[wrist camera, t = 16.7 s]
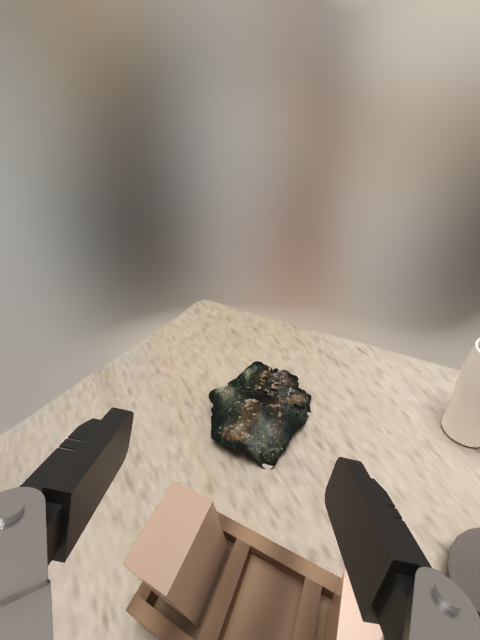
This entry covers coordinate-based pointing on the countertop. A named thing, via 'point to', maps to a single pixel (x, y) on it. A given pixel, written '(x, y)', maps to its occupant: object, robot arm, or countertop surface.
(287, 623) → the wooden divided tray
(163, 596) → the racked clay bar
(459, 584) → the coffee pot
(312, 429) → the countertop surface
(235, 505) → the countertop surface
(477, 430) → the drinking glass
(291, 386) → the decorative rock
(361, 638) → the clay bar
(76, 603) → the countertop surface
